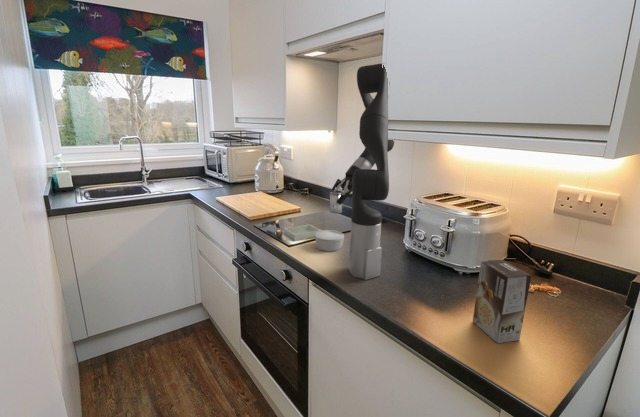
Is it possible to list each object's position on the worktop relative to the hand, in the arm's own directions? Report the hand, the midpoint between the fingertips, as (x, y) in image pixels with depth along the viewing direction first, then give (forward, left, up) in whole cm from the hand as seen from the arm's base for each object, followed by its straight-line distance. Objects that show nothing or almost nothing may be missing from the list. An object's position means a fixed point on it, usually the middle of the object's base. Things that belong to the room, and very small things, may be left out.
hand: (334, 202), depth 139 cm
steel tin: (0, -1, -4) cm, 4 cm away
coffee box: (-73, +4, -15) cm, 74 cm away
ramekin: (-9, +8, -15) cm, 19 cm away
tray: (+8, +10, -15) cm, 20 cm away
